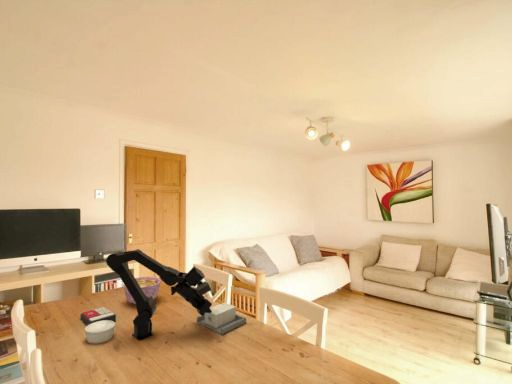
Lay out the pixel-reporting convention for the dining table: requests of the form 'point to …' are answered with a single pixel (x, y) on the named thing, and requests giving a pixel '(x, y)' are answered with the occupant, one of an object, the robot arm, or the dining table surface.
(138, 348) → the dining table surface
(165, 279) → the robot arm
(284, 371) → the dining table surface
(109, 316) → the red and grey box
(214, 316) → the small box
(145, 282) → the bowl of food
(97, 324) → the ramekin
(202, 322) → the tray
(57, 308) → the dining table surface
